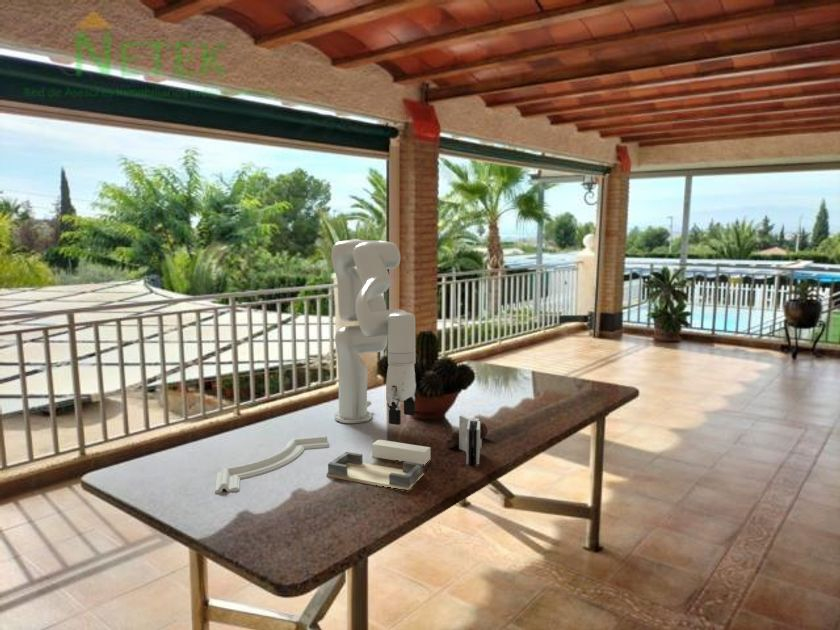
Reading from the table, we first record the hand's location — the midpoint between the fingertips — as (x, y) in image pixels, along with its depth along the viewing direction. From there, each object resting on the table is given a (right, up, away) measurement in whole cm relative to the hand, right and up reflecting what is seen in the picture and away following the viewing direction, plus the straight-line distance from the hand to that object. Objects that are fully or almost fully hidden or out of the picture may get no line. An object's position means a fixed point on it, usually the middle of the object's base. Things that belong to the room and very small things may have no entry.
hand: (402, 419), depth 163 cm
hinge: (+19, -11, +4) cm, 22 cm away
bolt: (+18, -10, +15) cm, 26 cm away
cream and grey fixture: (-7, -13, -10) cm, 18 cm away
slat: (0, -12, +2) cm, 12 cm away
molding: (-34, -12, -2) cm, 36 cm away
